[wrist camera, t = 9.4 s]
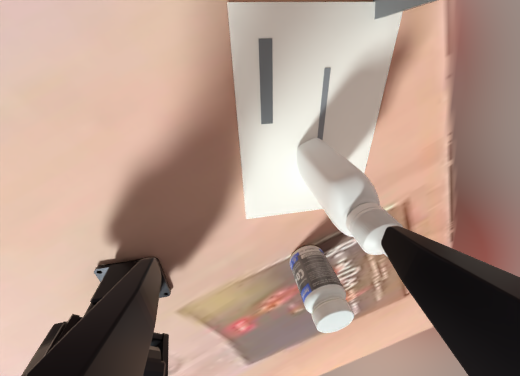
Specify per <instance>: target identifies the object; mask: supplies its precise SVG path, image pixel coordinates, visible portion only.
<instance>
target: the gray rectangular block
mask: <svg viewBox="0 0 520 376" xmlns="http://www.w3.org/2000/svg"><path fill="white" fill-rule="evenodd" d="M434 1H437V0H373V2H375V18H374V20H375V19H379V18H383V17H386V16H390V15H393V14H396V13H399V12H402V11H405V10H409V9H412V8H415V7H418V6H421V5H425V4H428V3H431V2H434Z"/></svg>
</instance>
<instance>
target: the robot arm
mask: <svg viewBox="0 0 520 376" xmlns="http://www.w3.org/2000/svg"><path fill="white" fill-rule="evenodd" d="M381 245H382V248H383V250H384V251H385V253H386V255H387V256H388V258H389V260H390V262H391V263H392V265H393V267H394V268H395V270H396V272H397V274H398V275H399V277H400V279H401V280H402V282H403V283H404V285H405V286H406V288H407V289H408V290H409V292H410V293H411V295H412V296H413V298H414V299H415V300H416V302H417V303H418V305H419V306H420V307H421V309H422V310H423V312H424V313H425V315H426V316H427V317H428V319H429V320H430V322H431V323H432V324H433V326H434V327H435V329H436V330H437V332H438V333H439V334H440V335H441V337H442V338H443V340H444V341H445V343H446V344H447V345H448V347H449V348H450V350H451V351H452V353H453V354H454V356H455V357H456V358H457V360H458V361H459V363H460V364H461V365H462V367H463V368H464V370H465V371H466V373H467V374H468V375H469V376H520V277H517V276H515V275H513V274H511V273H508V272H506V271H503V270H501V269H499V268H496V267H494V266H492V265H489V264H487V263H485V262H482V261H480V260H477V259H475V258H473V257H471V256H468V255H466V254H463V253H461V252H458V251H457V250H454V249H452V248H450V247H447V246H445V245H442V244H440V243H438V242H435V241H433V240H431V239H428V238H426V237H424V236H421V235H419V234H417V233H414V232H412V231H410V230H407V229H405V228H403V227H400V226H389V227H387V228H386V230H385V232H384V235H383V238H382V240H381ZM94 273H95V274H96V276H97V278H98V279H99V281H100V282H101V283H100V284H99V286H98V288H97V290H96V292H95V293H94V295H93V297H92V299H91V301H90V302H91V304H90V306H89V308H88V309H87V311H86V313H85V315H84V317H83V318H82V317H79V315H74V314H72V316H71V317H70V319H69V320H68V321H67V322H63V323H58V324H54V325H53V327H52V328H51V330H50V331H49V333H48V335H47V336H46V338H45V339H44V341H43V342H42V344H41V345H40V347H39V348H38V350H37V352H36V353H35V355H34V356H33V358H32V359H31V361H30V363H29V364H28V366H27V367H26V369H25V371H24V372H23V374H22V375H21V376H168V338H169V335H168V334H164V333H163V334H159V333H154V327H155V322H156V315H157V308H158V301H159V298H162V297H167V296H169V295H170V293H171V290H170V287H169V285H168V282H167V280H166V277H165V275H164V272H163V270H162V267H161V265H160V262H159V260H158V259H157V258H155V257H150V258H143V259H141V260H136V261H129V262H123V263H116V264H109V265H103V266H98V267H96V269H95V271H94Z"/></svg>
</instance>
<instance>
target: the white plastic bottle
mask: <svg viewBox="0 0 520 376" xmlns="http://www.w3.org/2000/svg"><path fill="white" fill-rule="evenodd" d="M297 166H298V170H299V172H300V175H301V177H302V179H303V180H304V182H305V183H306V185H307V186H308V188H309V189H310V190H311V192H312V193H313V195H314V196H315V198H316V199H317V201H318V202H319V204H320V205H321V207H322V208H323V209H324V211H325V212H326V214H327V215H328V217H329V218H330V220H331V221H332V222H333V224H334V225H335V226H336V227H337V228H338V229H339V230H340V231H341V232H342V233H344V234H345V235H347V236H351V237H354V238H355V240H356V241H357V242H358V244H359V245H360V246H361V248H362V249H363V250H364V251H365V252H366V253H368V254H372V255H380V254H384V255H386V253H385V251H384V250H383V248H382V245H381V240H382V238H383V235H384V232H385V230H386V228H387V227H389V226H400V227H403V226H402V225H401V224H400V223H399V222H398V221H396V220H395V219H394V218H393V217H392V216H391V215H390V214H389V213H388V212H386V211H385V210H384V209H383V208H382V207H381V206H380V202H379V198H378V195H377V192H376V190H375V188H374V186H373V184H372V183H371V181H370V180H369V179H368V177H367V176H366V175H365V174H364V173H363V172H362V171H361V170H360V169H358V168H357V167H356V166H355V165H353V164H352V163H351V162H350V161H349V160H347V159H346V158H345V157H343V156H342V155H341V154H339V153H338V152H337V151H336V150H334V149H333V148H332V147H330V146H329V145H328V144H326V143H325V142H324V141H322V140H321V139H319V138H313V139H311V140H309V141H307V142H305V143H303V144H301V145H300V146H299V147H298V149H297ZM386 256H387V255H386ZM387 257H388V256H387Z"/></svg>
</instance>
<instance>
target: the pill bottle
mask: <svg viewBox="0 0 520 376" xmlns="http://www.w3.org/2000/svg"><path fill="white" fill-rule="evenodd" d="M290 266H291V269H292V272H293V275H294V278H295V281H296V283H297V286H298V289H299V291H300V294H301V297H302V300H303V303H304V306H305V308H306V309H307V310H308V311H309V312H310V313H312V319H313V321H314V323H315V325H316V328H317V330H318V331H320V332H322V333H331V332H335V331H338V330H340V329H342V328H344V327H346V326H347V325H349V324H350V323H351V322H352V320H353V318H354V313H353V311H352V310H351V308H350V306H349V304H348V303H347V301H346V300H345V299H346V292H345V290H344V288H343V286H342V284H341V283H340V281H339V279H338V277H337V276H336V274H335V272H334V270H333V268H332V267H331V265H330V263H329V261H328V260H327V258H326V256H325V254H324V253H323V251H322V250H321V249H320V248H319V247H317V246H314V245H309V246H304V247H301V248H299V249H297V250H296V251H295V252H294V253H293V254H292V256H291V257H290Z"/></svg>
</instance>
